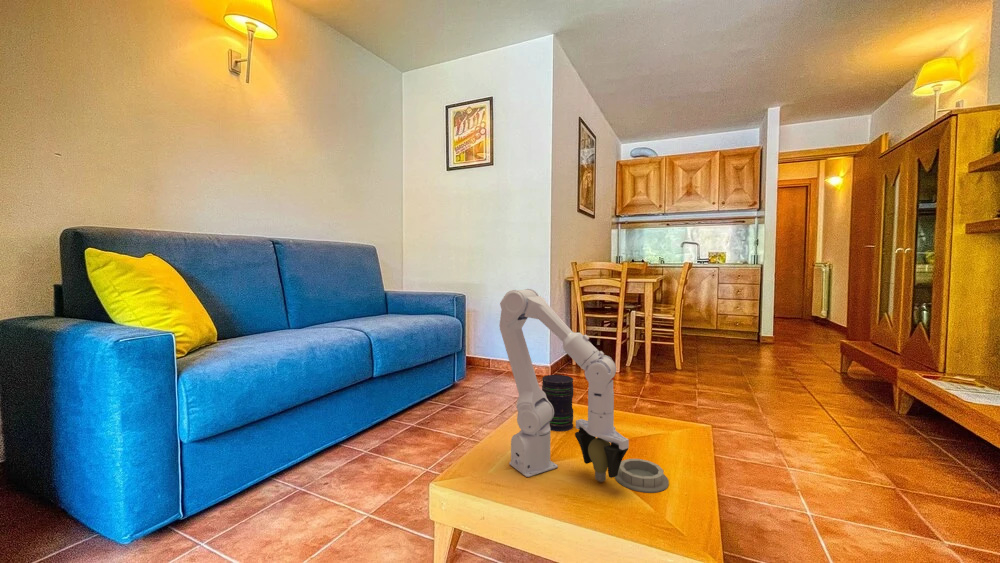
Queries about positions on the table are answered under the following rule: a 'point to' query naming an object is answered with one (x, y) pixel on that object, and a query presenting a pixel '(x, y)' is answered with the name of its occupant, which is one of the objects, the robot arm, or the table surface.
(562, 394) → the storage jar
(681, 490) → the table surface
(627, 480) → the bulb holder
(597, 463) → the light bulb
